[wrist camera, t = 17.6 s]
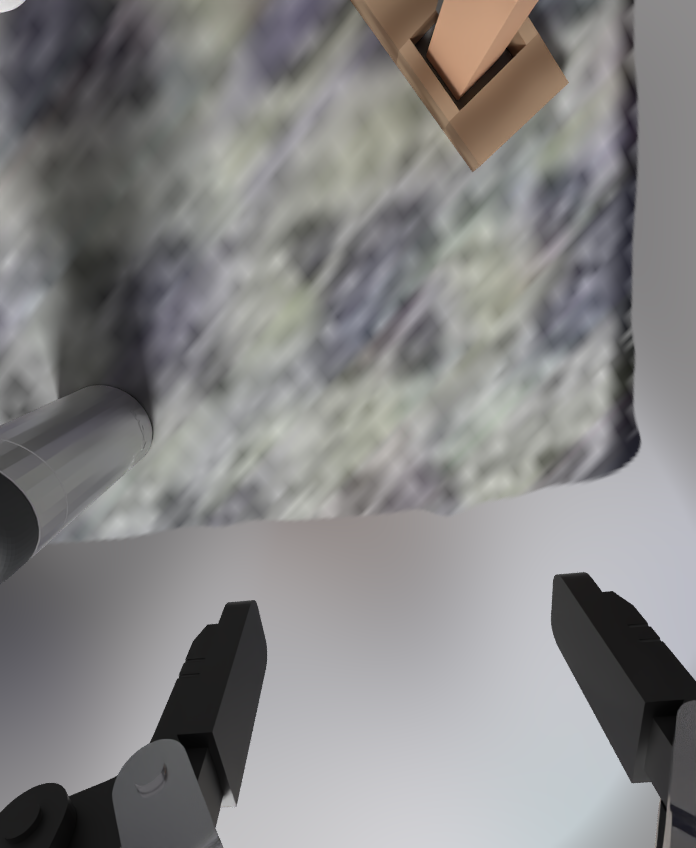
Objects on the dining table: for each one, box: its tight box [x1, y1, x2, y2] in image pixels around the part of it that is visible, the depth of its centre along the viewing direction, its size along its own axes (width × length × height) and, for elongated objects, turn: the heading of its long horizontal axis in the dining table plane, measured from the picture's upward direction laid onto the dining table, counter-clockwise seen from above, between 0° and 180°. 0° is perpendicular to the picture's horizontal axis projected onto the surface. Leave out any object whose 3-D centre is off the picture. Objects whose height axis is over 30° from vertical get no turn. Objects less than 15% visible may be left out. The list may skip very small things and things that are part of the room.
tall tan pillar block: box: [426, 0, 538, 101], centre depth 27 cm, size 5×4×14 cm
